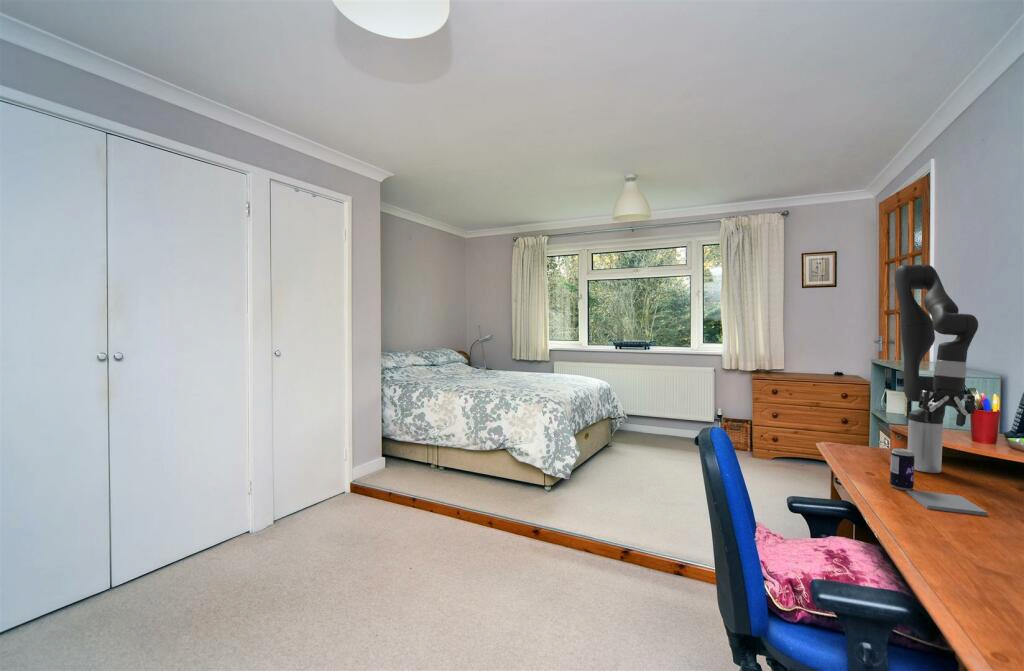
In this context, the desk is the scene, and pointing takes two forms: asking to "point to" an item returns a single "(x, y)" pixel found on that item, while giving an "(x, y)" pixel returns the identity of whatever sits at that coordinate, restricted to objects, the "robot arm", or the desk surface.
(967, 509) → the slate tile
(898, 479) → the beverage can
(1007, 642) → the desk surface
